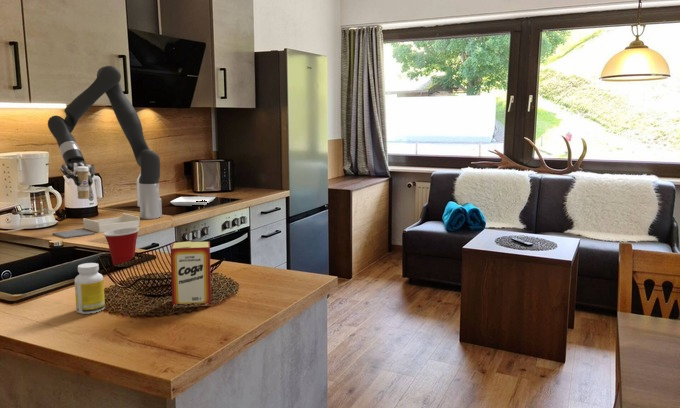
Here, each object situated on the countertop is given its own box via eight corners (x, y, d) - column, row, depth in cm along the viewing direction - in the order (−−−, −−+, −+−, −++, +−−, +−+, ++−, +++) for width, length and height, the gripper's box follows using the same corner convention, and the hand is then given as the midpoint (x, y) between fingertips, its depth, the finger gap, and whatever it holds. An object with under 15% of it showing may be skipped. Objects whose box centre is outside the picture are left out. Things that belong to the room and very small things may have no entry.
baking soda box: (211, 298, 143) (209, 240, 140) (211, 306, 136) (209, 245, 134) (174, 300, 140) (172, 241, 138) (172, 308, 134) (170, 247, 132)
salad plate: (169, 207, 300) (169, 201, 300) (181, 201, 321) (180, 196, 321) (206, 207, 300) (206, 201, 300) (215, 202, 321) (215, 196, 321)
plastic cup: (111, 262, 178) (109, 226, 177) (144, 261, 179) (142, 226, 178) (99, 270, 168) (97, 233, 166) (135, 270, 169) (133, 233, 167)
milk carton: (149, 207, 295) (147, 173, 292) (137, 207, 296) (136, 173, 293) (155, 205, 302) (154, 172, 299) (144, 205, 303) (143, 172, 300)
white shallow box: (124, 222, 249) (124, 213, 248) (140, 226, 240) (139, 216, 239) (83, 228, 234) (83, 218, 234) (98, 232, 225) (98, 222, 225)
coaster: (82, 230, 230) (81, 229, 230) (94, 234, 222) (94, 232, 222) (52, 234, 221) (52, 232, 221) (65, 238, 213) (65, 237, 213)
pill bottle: (109, 310, 132) (107, 265, 131) (83, 317, 128) (80, 270, 126) (98, 304, 137) (95, 260, 135) (72, 310, 132) (69, 265, 130)
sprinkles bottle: (82, 199, 222) (80, 167, 220) (75, 198, 224) (73, 166, 222) (91, 198, 226) (90, 166, 224) (84, 197, 228) (83, 166, 226)
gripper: (56, 148, 221) (69, 179, 215) (91, 148, 232) (104, 178, 226) (51, 160, 225) (64, 191, 219) (86, 159, 236) (99, 189, 230)
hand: (85, 184), depth 223 cm, fingers closed on sprinkles bottle, 4 cm apart
